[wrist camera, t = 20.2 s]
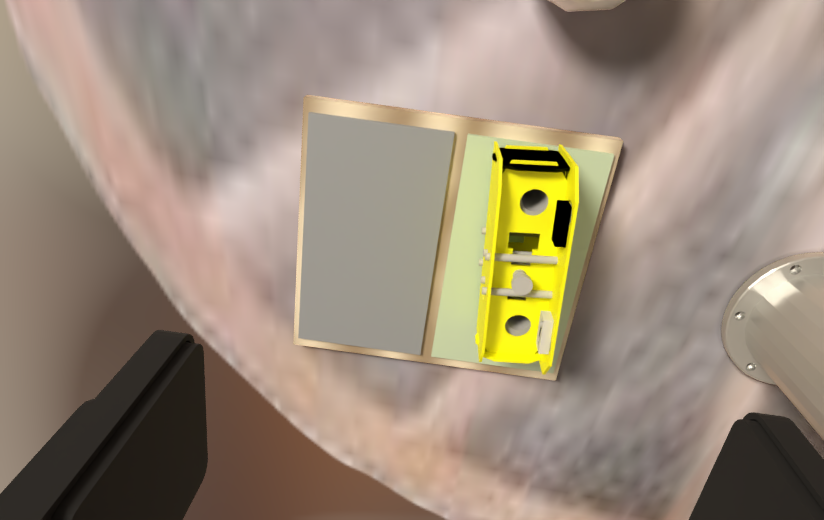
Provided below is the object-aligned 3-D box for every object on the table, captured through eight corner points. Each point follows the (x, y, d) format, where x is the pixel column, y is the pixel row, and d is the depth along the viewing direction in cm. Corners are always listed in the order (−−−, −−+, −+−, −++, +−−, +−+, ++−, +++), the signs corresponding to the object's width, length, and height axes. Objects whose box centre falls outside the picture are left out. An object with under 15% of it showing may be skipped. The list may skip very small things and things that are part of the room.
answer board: (619, 137, 43) (624, 142, 42) (553, 372, 53) (556, 383, 51) (307, 94, 43) (302, 98, 42) (296, 337, 53) (292, 346, 51)
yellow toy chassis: (538, 327, 49) (554, 387, 41) (472, 323, 49) (476, 382, 42) (566, 142, 42) (591, 173, 35) (489, 138, 42) (497, 169, 35)
